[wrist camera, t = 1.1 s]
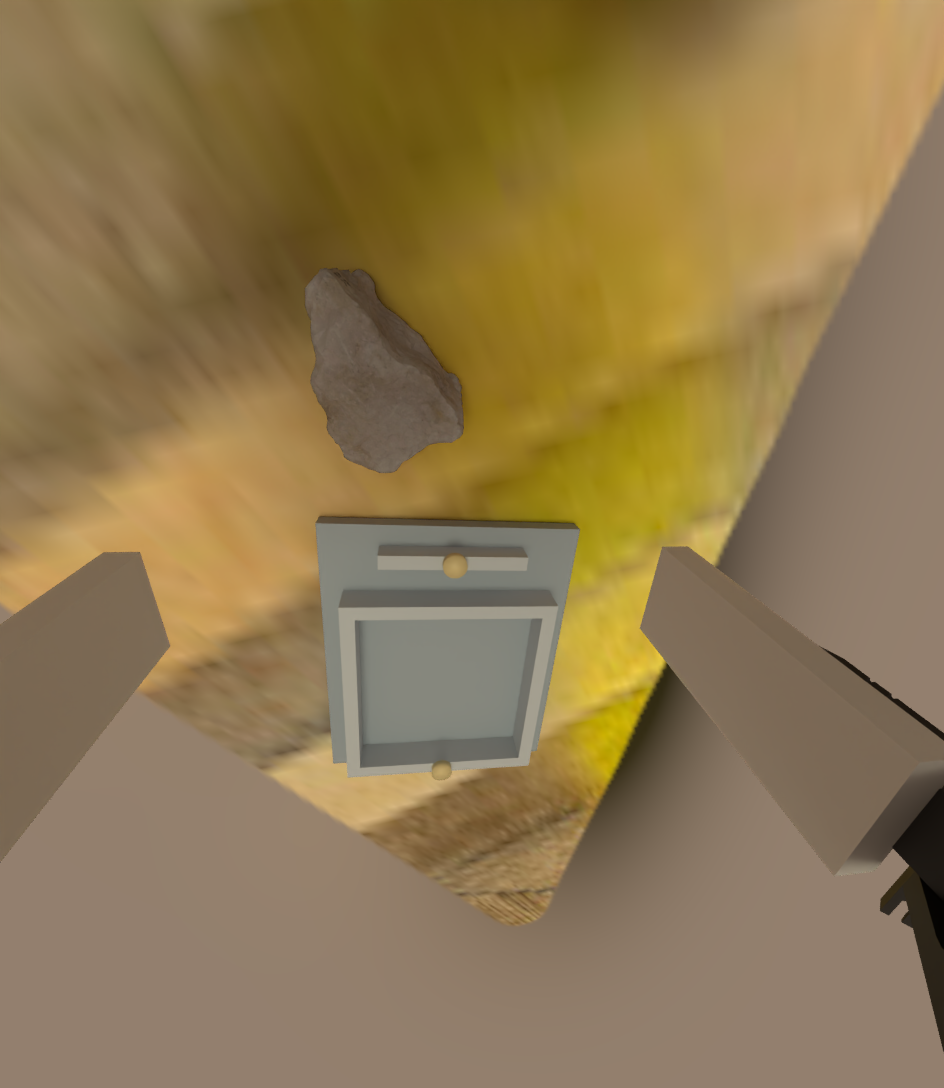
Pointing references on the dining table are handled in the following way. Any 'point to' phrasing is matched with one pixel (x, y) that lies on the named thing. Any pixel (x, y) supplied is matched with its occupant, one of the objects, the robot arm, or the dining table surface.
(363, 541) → the bracket board
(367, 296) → the stone
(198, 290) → the dining table surface
